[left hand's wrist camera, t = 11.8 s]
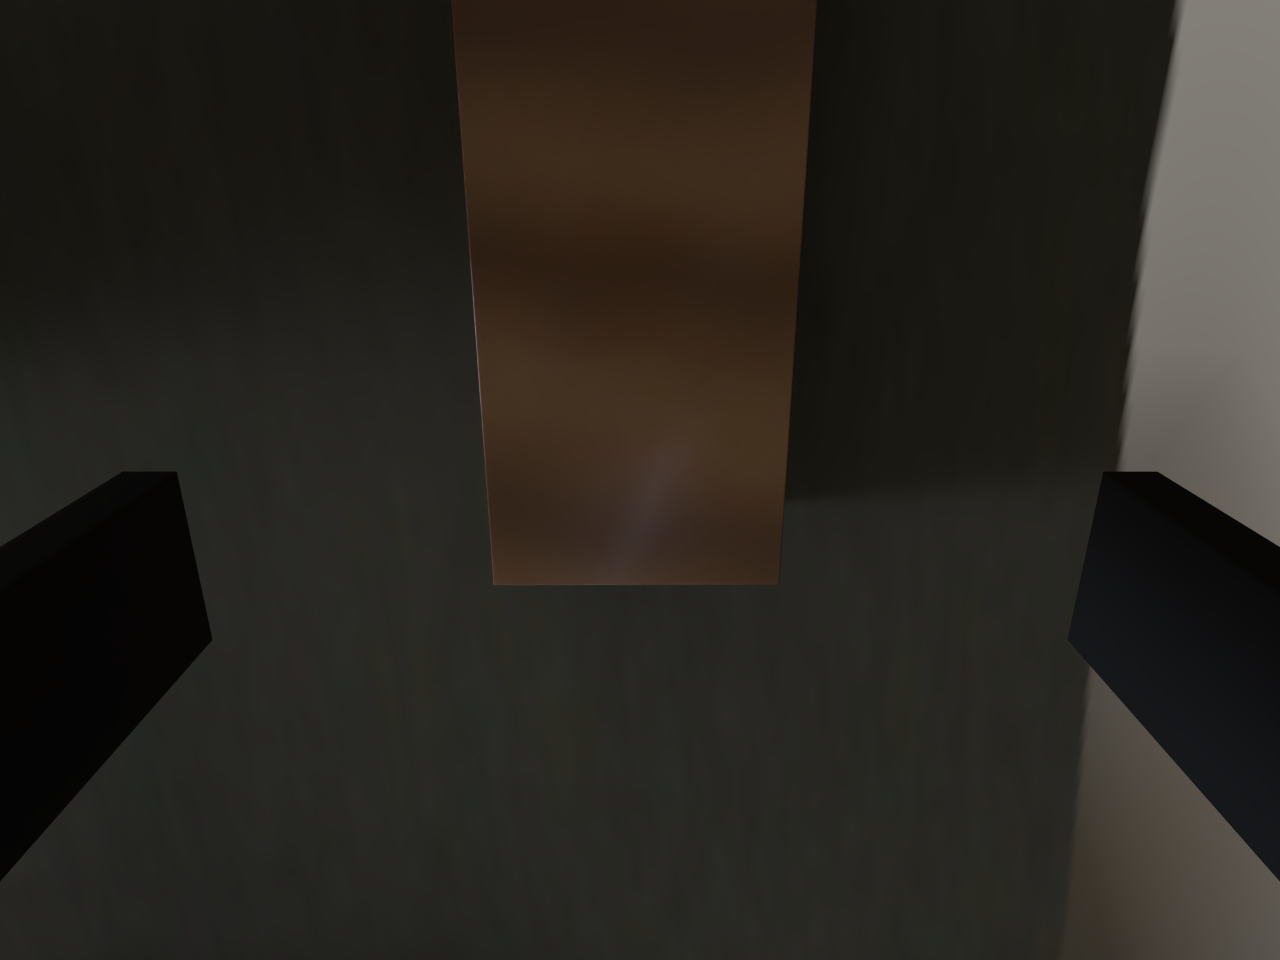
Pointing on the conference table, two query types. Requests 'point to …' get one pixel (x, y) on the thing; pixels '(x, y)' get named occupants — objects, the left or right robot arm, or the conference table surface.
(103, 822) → the conference table surface
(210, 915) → the conference table surface
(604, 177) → the wooden beam
